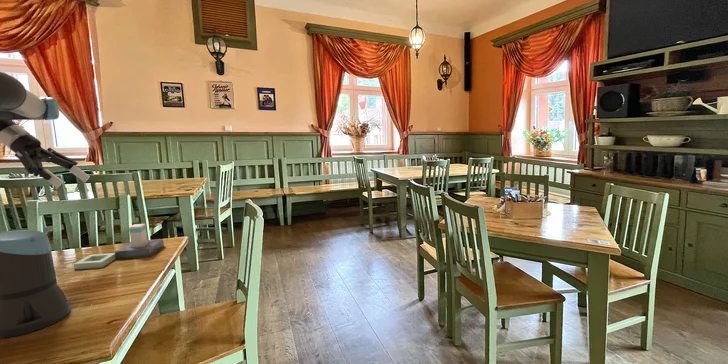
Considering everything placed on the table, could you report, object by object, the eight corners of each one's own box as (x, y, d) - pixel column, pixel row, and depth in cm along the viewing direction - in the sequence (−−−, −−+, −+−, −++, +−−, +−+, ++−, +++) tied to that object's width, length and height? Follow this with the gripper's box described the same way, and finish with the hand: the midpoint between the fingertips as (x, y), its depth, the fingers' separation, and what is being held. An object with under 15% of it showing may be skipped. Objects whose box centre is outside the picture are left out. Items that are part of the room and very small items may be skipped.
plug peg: (144, 253, 134) (140, 226, 132) (132, 254, 133) (128, 227, 132) (149, 250, 138) (145, 223, 136) (138, 250, 137) (134, 224, 136)
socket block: (150, 256, 130) (149, 249, 130) (116, 259, 129) (114, 251, 128) (163, 245, 142) (163, 239, 142) (132, 248, 141) (131, 241, 140)
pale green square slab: (102, 267, 121) (101, 261, 121) (74, 269, 120) (73, 263, 120) (117, 257, 130) (116, 252, 130) (91, 259, 129) (90, 254, 129)
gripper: (42, 147, 131) (90, 184, 135) (-22, 151, 107) (39, 196, 111) (55, 133, 131) (103, 170, 135) (-7, 133, 107) (54, 178, 111)
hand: (74, 182), depth 123 cm, fingers open, 13 cm apart
